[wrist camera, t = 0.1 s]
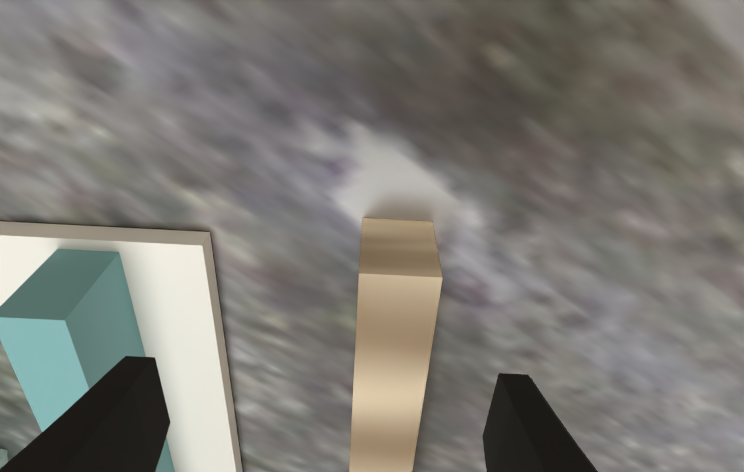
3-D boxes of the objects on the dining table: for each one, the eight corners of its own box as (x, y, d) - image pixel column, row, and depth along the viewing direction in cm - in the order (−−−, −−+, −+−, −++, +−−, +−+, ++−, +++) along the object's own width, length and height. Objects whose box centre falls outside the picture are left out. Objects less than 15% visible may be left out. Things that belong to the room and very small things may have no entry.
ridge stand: (245, 491, 30) (223, 586, 26) (92, 485, 30) (44, 579, 25) (209, 232, 20) (164, 313, 16) (-16, 220, 20) (-122, 299, 16)
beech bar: (396, 483, 30) (398, 555, 26) (349, 481, 30) (345, 553, 26) (432, 218, 20) (442, 277, 17) (362, 214, 20) (359, 273, 17)
